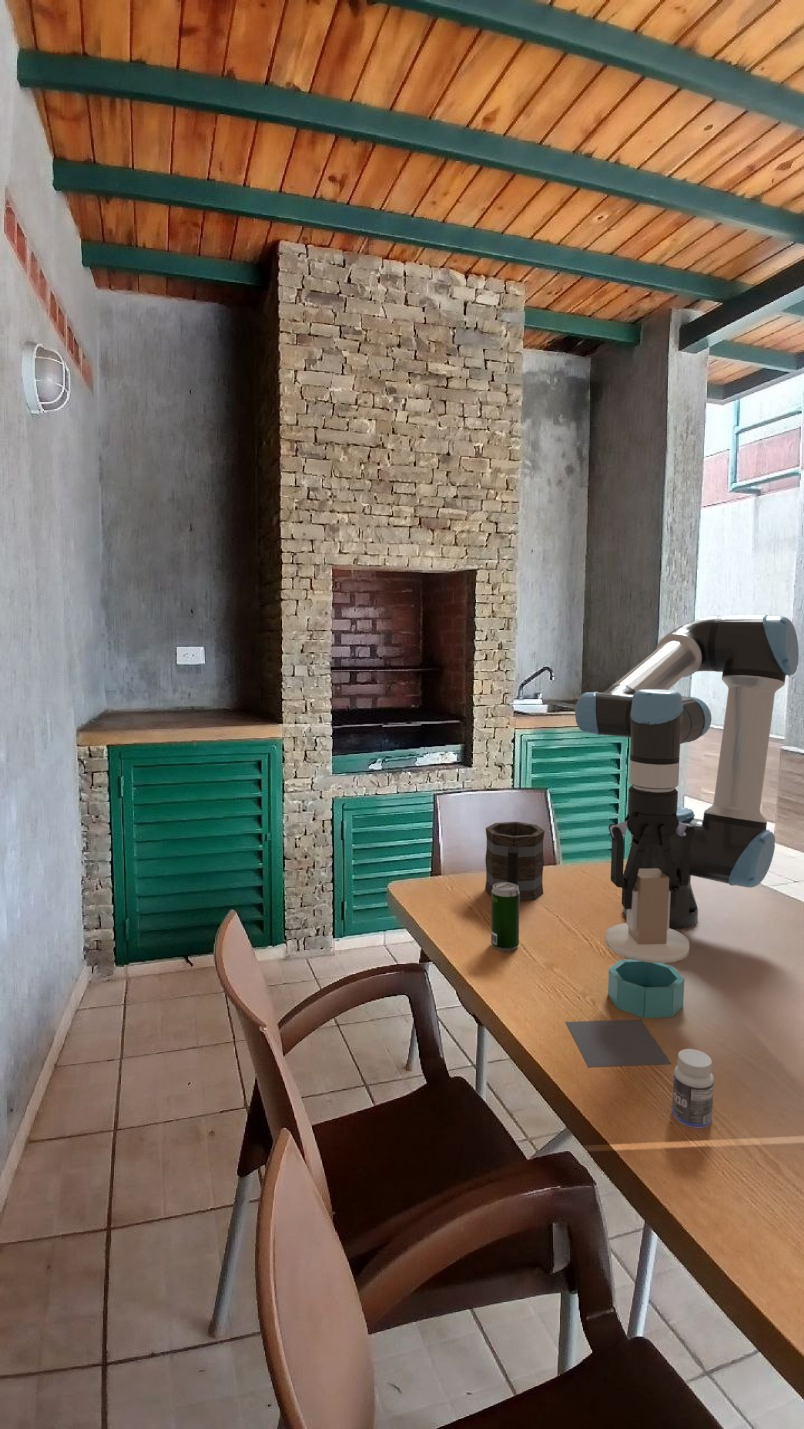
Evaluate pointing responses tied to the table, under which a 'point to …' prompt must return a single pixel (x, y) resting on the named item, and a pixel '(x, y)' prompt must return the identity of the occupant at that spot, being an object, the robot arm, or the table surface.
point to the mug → (515, 858)
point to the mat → (616, 1043)
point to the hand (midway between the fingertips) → (647, 926)
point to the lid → (649, 924)
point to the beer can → (505, 916)
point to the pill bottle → (693, 1089)
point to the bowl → (646, 988)
